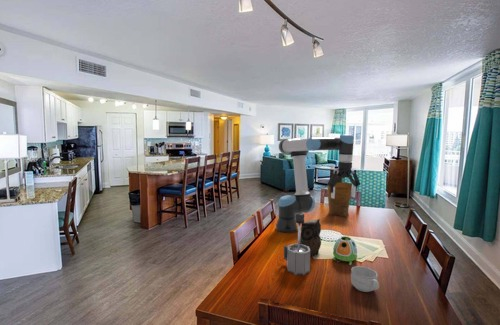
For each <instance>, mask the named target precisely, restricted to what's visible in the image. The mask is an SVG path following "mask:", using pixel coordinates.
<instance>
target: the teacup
mask: <svg viewBox="0 0 500 325" xmlns="http://www.w3.org/2000/svg"><path fill="white" fill-rule="evenodd" d="M350 269H351V272H350V282H351V285H353V287H354V288H355V289H356V290H357V291H360V292H362V293H369V292H373V291H377V290H379V287H380V283H379V281H378V273H377V271H376V270H374V269H372V268H369V267H367V266H362V265H361V266H360V265H359V266H358V265H357V266H352V267H351V268H350Z"/></svg>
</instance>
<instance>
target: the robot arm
mask: <svg viewBox="0 0 500 325" xmlns="http://www.w3.org/2000/svg"><path fill="white" fill-rule="evenodd" d="M354 140H355V139H354V135H353V134H340V136H339V137H335V136H329V137H315V136H314V137H312V136H311V137H309V138H300V137H299V138H283V139H281V140H280V141H279V143H278V150H279V152H280V153H282V154H284V155H287V156H288V155H290V158H291V159H292V161H293V163H292V164H293V173H294V183H295V193H294V195H291V194H290V195H289V194H288V195H283V196H281V197H280V198H279V199H278V200H279V201H278V218H277V221H276V224H275V230H276V231H278V232H280V233H285V234H286V233H287V234H290V233H296V232H298V223H296V222H295V214H296V213H303V214H307V213H310V212H312V211H313V210H314V208H315V205H316V200H315V198H314V197H313V196H312V195H311V192H309V186H308V178H307V176H308V175H307V168H306V166H307V165H306V157H307V155H308V154H309V152H310V151H311V152H312V151H313V152H315V151H338V162H337V165H338V166H337V167H338V169H333V170H332V173H331V176H330V178H329V180H328V182H327V183H326V185H328V186H330V192H331V198H333V199H334V198H335V187H334V186H335V185H336V184H337V183H339V181H340V180H341V179H344V178H346V179H347V178H348V180H349V181H350V182H351V184H352V189H351V196H350V197H352V198H354V199H355V198H356V193H357V191H358V187H359V186H361V183H360V180H359V177H358V175H357V174H358V173H357V169H354V168H353V158H354V157H353V152H354V142H355V141H354ZM351 174H352V175H351Z"/></svg>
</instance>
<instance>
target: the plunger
mask: <svg viewBox="0 0 500 325" xmlns="http://www.w3.org/2000/svg"><path fill="white" fill-rule="evenodd" d="M295 222H296V224H297V244H298V247H294V248H292V249H291V250H292V251H294V252H306V250H305V249H304V248H301V247H300V236H301V225H302V223H304V222H305V213H296V214H295Z"/></svg>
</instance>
